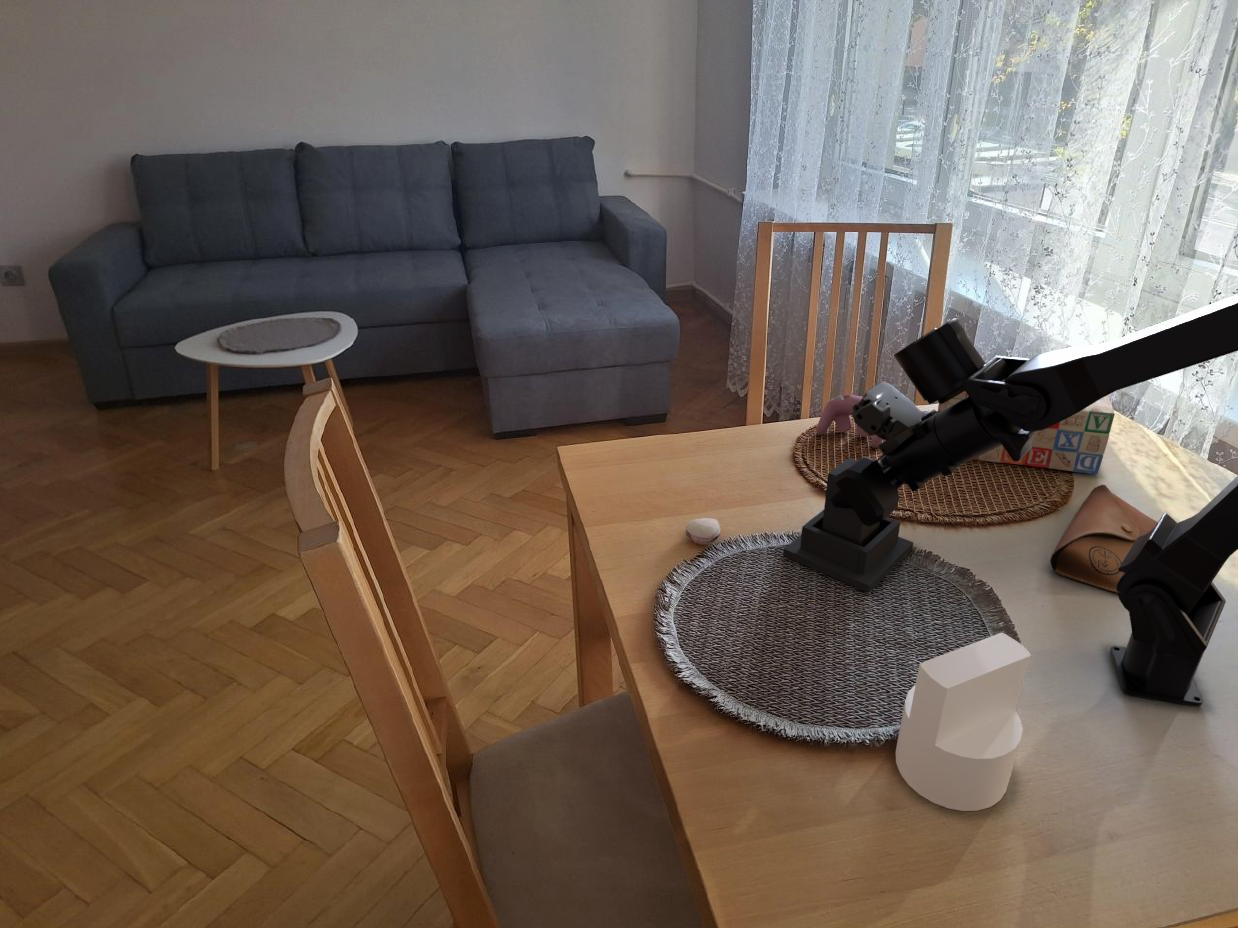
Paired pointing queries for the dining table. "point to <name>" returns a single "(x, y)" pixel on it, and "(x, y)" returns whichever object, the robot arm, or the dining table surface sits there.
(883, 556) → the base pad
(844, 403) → the video game controller
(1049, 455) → the stack of blocks
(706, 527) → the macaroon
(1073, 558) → the sunglasses case
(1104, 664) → the dining table surface
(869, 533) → the black pad block
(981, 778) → the cylinder with rectangular tab
